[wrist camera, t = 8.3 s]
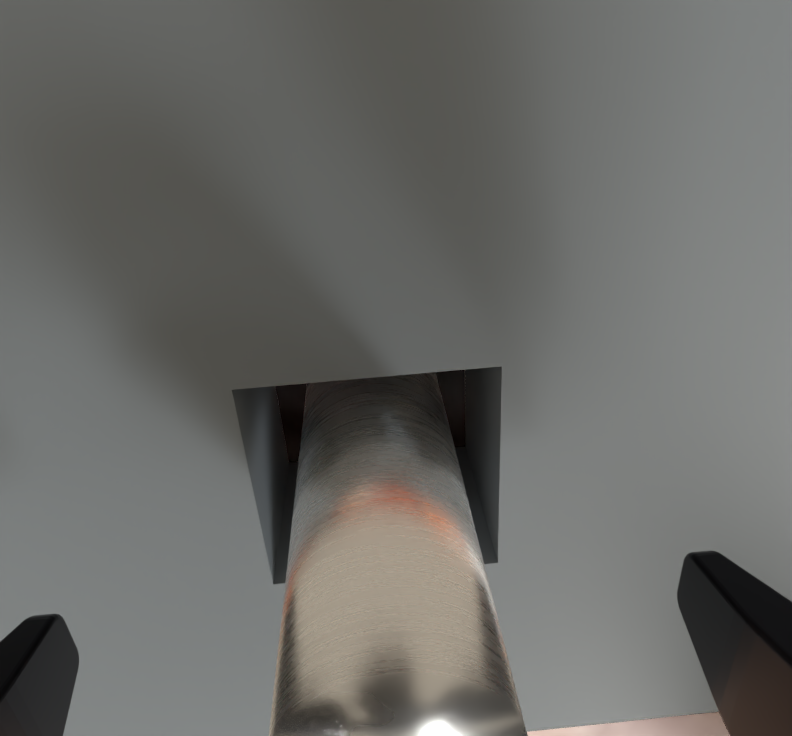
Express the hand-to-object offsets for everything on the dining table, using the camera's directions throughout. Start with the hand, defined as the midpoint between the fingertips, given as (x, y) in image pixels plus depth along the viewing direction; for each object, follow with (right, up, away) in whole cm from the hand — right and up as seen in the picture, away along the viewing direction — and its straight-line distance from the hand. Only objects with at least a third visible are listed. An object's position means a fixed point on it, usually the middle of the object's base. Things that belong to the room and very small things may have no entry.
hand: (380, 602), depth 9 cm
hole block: (0, +3, +6) cm, 7 cm away
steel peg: (0, +3, +6) cm, 7 cm away
